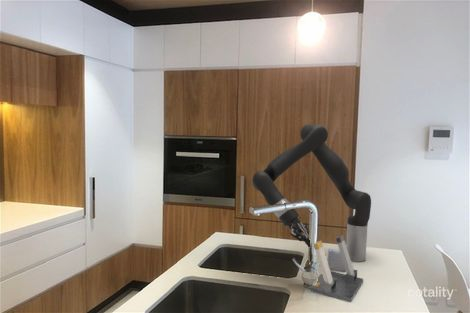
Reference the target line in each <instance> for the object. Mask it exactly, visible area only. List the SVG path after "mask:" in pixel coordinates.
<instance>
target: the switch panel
mask: <svg viewBox="0 0 470 313" xmlns="http://www.w3.org/2000/svg"><path fill="white" fill-rule="evenodd" d="M353 270H354V272H355V274H356V275H355V277H354V276H353V275H349V274H347V273H346V274H344V273H342V272H341V273H340V272H338V271H337V272H336V271H334V270H330V272H331V275H332V279H333V281H334V285H333V286H332V284H328V283H325V282H324V278H323V275H322V273H320V275H319V276H318V277H317V278H318V281H317V285H315V286H311V285H309V287H308V291H309V290H311V291H310V292H312V291H313V293H316V294H320V295H324V296H327V297H331V298H334V299H338V300H342V301H345V302H349V303H352V302H353V300H354V298H355V297H356V294H357V293H358V291H359V289H361V286H363V284H364V278H363V277H358V270H357V269H354V268H353Z"/></svg>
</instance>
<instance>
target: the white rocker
mask: <svg viewBox="0 0 470 313" xmlns="http://www.w3.org/2000/svg"><path fill="white" fill-rule="evenodd" d="M316 242H317V243H316ZM316 242H315V243H314V247H313V248H314V251H315V253H316V258H317V260H318V264H319V268H320V272H321V274H322V275H323V278H324V282H325V283H328V284H332V286H333V285H334V281H333V279H332V275H331V272H330V271H331V270H330V269H329V265H328V258H327V257H326V256H327V255H326V252H325V249H324V245H323V242H322V240H319V241H316Z"/></svg>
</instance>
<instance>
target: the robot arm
mask: <svg viewBox="0 0 470 313" xmlns="http://www.w3.org/2000/svg"><path fill="white" fill-rule="evenodd" d="M328 132H329V131H328V129H327V128H326V127H325V126H322V125H320V124H313V123H309V124H305V125H303V126H302V128H301V129H300V138H301V142H299V143H297V144H296V145H295V146H292V147H291V148H289V149H287V150H284V151H282V152H281V153H280V154H279V155H277V156H276V157H275V158H274V159H272V160H271V161H270V162H269V163H268V164H267V166H266V168H264V170H263V171H262V170H261V171H259V170H258V171H256V172H254V174H253V176H252V186H253V187H254V189H255V190H256V191H258V192H260V193H261V194H262V196H263V198H264V200H265V202H266V203H267V204H268V206H269V205H274V204H284V203H290V202H289V200H288V199H286V197H285V196H284V195H283V194H282V193H281V191H280V190H279V189H278V188H277V186H276V185H275V183H274V182H275V181H276V180H277V179H278V178H279V177H280V176H281V175H283V174H284V173H285V172H286V171H287V170H289V169H290V167H292V166H293V165H294V164H295V163H297V162H298V161H299V160H301V159H302V158H304V157H306V156H307V155H308V154H310V153H312V154H313V155H314V157H315V159H316V160H317V161H318V163H319V164H320V165H321V167H322V169H323V171H324V172H325V174H326V175H327V176H328V178H329V179H330V181H332V184H334V186H335V187H336V189H337V190H338V192H339V194H340V196H341V198H342V199H343V202H344V203H345V205H346V206H347V207H348V208H349V209H351V210H352V209H353V210H354V215H350V216H348V217H347V226H346V227H347V228H346V241H345V244H346V247H347V250H348V253H349V257H350V260H351V262H358V263H361V262H365V261H366V259H367V258H366V257H367V256H366V255H367V241H368V240H367V239H368V224H369V220H370V216H371V209H372V197H371V195H370V194H369V193H368V192H365V191H361V190H360V191H359V190H357V189H356V188H354V186H353V185H352V182H350V173H349V172H350V171H349V168H348V167H347V165H346V163H345V162H344V161H343V159H342V158H341V157H340V156H339V154H337V153H336V152H335V151H333V149H332V148H330V147H329V146H328V145H327V144H326V141H327V140H328V139H329V138H328V136H329V133H328ZM273 213H274V215H275V216H276V217H277V219H278V220H279V221H280V222H281V224H282V225H283V226H284V227H288V228H289V230H290V233H289V234H290V236H291V237H292V238H294V239H296V240H298V241H300V242H304V243H305V245H306V246H307V247H308V248H309V247H310V240H309V238H310V237H309V236H310V235H309V232H310V229H309V227H308V224H307V223H305V222H304V223H302V221H301V220H300V219H299V217H300V214H299V212H298V211H297V210H296V209H295V208H294V209H291V210H285V211H279V212H274V211H273Z"/></svg>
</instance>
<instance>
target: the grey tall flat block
mask: <svg viewBox="0 0 470 313" xmlns="http://www.w3.org/2000/svg"><path fill="white" fill-rule="evenodd" d="M335 239H336V244H337V246H338V249H339V250H340V253H341V256H342V260H343V263H344V266H345V270H346V274H349V275H353V276H354V277H355V275H356V274H355V272H354V270H355V269H354V268H353V265H352V261H351V260H350V257H349V253H348V250H347V247H346V241H345V237H344V234H341V235H338V236H337V237H335ZM353 269H354V270H353Z"/></svg>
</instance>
